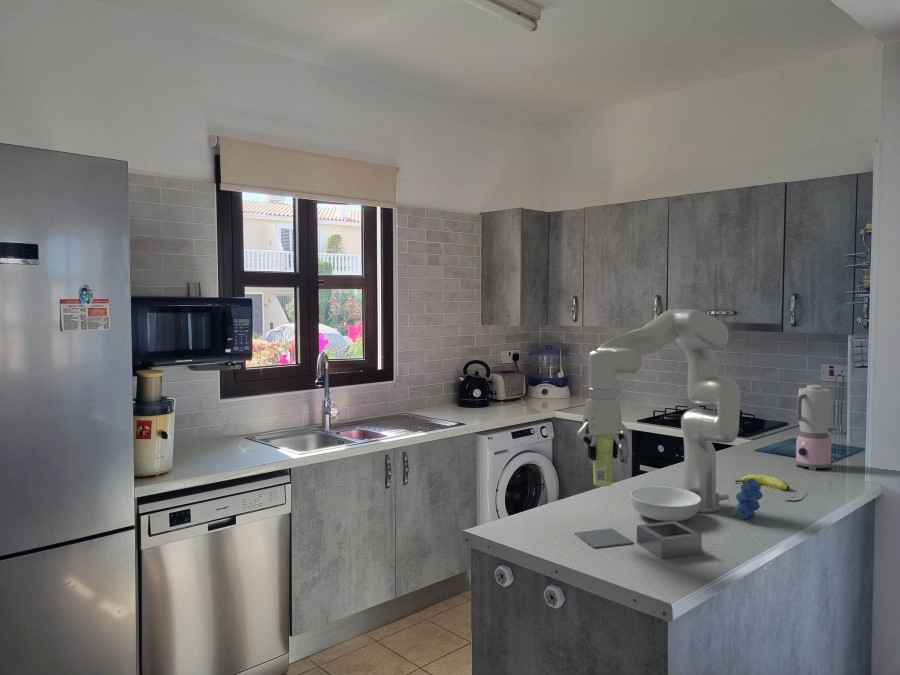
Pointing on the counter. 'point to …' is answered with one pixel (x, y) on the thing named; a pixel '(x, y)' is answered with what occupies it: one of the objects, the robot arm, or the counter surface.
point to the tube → (603, 460)
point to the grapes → (749, 499)
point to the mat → (604, 538)
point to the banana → (767, 481)
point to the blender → (813, 427)
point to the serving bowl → (665, 503)
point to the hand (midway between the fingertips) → (603, 457)
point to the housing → (669, 539)
